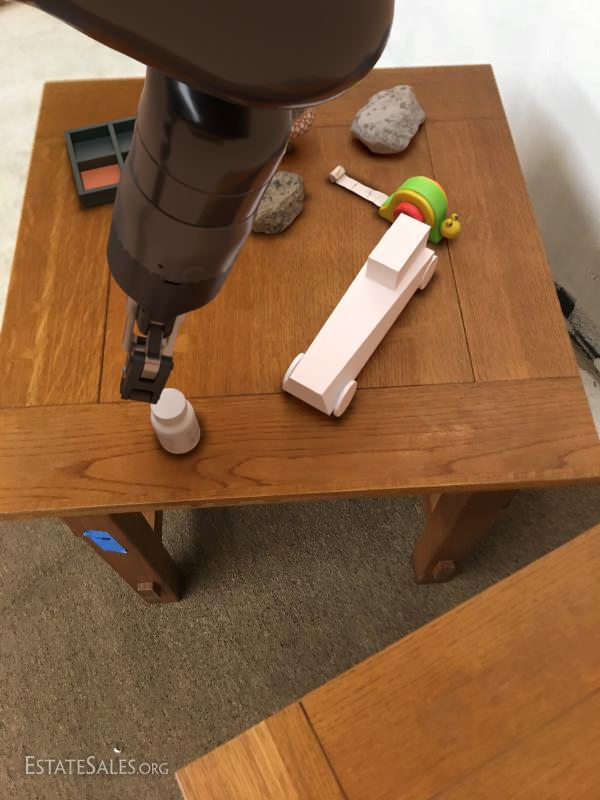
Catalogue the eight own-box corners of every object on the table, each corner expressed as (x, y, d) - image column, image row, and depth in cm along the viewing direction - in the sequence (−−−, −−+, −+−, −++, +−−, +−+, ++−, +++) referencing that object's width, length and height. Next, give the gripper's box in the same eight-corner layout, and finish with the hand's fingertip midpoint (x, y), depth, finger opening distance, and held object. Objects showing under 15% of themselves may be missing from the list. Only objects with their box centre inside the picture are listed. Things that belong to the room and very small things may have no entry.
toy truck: (387, 250, 82) (398, 196, 74) (437, 274, 80) (454, 221, 72) (279, 396, 72) (277, 353, 64) (333, 428, 70) (338, 387, 62)
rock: (308, 232, 83) (308, 207, 79) (246, 236, 83) (244, 210, 79) (303, 191, 86) (304, 165, 82) (244, 194, 86) (242, 168, 82)
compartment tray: (83, 208, 85) (78, 195, 83) (68, 144, 90) (63, 130, 88) (177, 186, 86) (174, 173, 84) (156, 125, 92) (153, 111, 90)
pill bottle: (193, 412, 71) (183, 377, 64) (205, 446, 69) (196, 414, 62) (154, 425, 70) (139, 391, 63) (166, 460, 68) (151, 429, 61)
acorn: (242, 148, 90) (236, 83, 81) (286, 120, 93) (285, 55, 84) (281, 180, 87) (280, 117, 78) (326, 151, 90) (329, 87, 81)
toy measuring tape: (440, 262, 81) (452, 225, 75) (318, 189, 86) (320, 149, 81) (467, 231, 83) (480, 193, 77) (347, 162, 89) (351, 122, 83)
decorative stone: (429, 162, 89) (436, 132, 85) (350, 162, 89) (353, 132, 84) (421, 102, 95) (427, 71, 90) (347, 102, 95) (350, 70, 90)
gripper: (130, 106, 38) (104, 252, 53) (95, 317, 33) (77, 416, 47) (251, 142, 41) (195, 272, 55) (236, 344, 36) (179, 430, 50)
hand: (140, 338), depth 51 cm, fingers open, 8 cm apart
